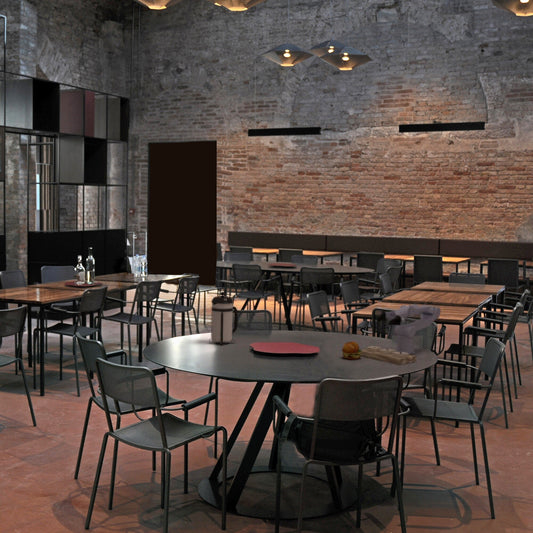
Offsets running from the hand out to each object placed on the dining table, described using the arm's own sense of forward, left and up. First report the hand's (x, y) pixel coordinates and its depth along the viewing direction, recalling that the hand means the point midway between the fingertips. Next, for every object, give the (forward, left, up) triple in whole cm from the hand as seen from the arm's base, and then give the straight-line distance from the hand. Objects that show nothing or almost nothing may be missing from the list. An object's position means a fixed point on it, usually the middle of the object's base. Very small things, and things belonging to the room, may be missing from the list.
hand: (383, 321), depth 397 cm
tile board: (-1, +2, -20) cm, 20 cm away
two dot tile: (-1, +2, -18) cm, 18 cm away
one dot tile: (-1, -7, -18) cm, 19 cm away
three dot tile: (-1, +11, -18) cm, 21 cm away
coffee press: (+45, -83, -20) cm, 96 cm away
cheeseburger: (+14, -10, -20) cm, 26 cm away
